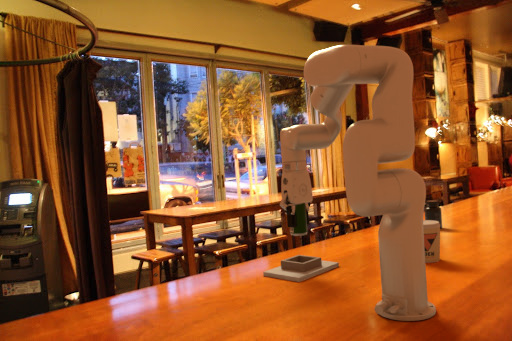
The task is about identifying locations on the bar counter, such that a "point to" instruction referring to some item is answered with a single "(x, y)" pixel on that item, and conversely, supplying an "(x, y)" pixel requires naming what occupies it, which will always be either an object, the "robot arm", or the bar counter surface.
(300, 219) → the beer can
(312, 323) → the bar counter surface
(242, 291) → the bar counter surface
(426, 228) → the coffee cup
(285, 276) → the holder board
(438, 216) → the supplement bottle
